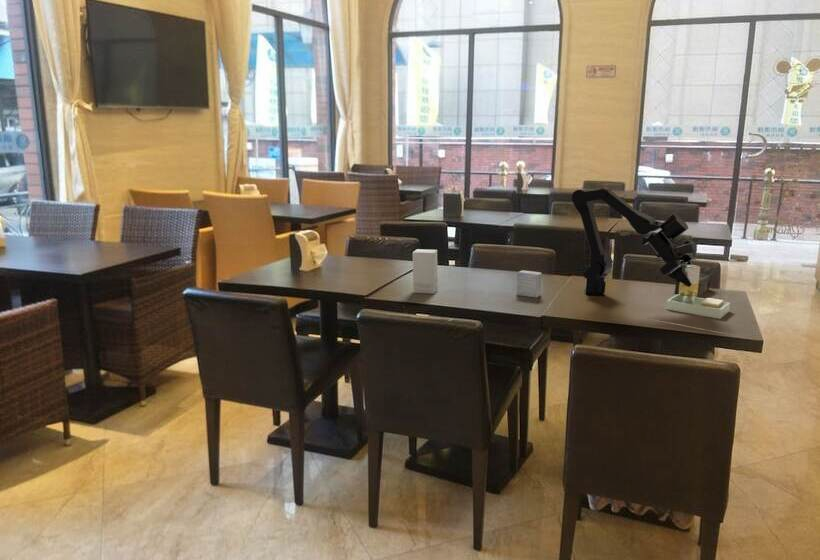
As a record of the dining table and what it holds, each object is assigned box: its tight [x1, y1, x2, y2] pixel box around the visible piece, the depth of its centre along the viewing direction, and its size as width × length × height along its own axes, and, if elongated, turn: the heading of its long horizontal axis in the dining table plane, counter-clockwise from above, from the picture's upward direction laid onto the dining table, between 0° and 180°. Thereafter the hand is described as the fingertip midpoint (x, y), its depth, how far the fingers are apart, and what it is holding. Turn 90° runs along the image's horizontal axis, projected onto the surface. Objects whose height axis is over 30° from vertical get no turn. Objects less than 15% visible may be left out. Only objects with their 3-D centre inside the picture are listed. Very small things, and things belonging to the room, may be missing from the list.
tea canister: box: [678, 264, 701, 305], centre depth 217 cm, size 6×6×13 cm
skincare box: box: [412, 248, 439, 295], centre depth 237 cm, size 8×7×16 cm
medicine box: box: [516, 270, 543, 299], centre depth 234 cm, size 8×4×9 cm, turn 59°
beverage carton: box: [673, 273, 712, 297], centre depth 242 cm, size 8×19×7 cm, turn 141°
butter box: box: [701, 297, 725, 309], centre depth 213 cm, size 5×7×4 cm
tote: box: [665, 294, 731, 320], centre depth 216 cm, size 17×11×4 cm, turn 51°
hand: (693, 284), depth 216 cm, fingers closed on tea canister, 6 cm apart
